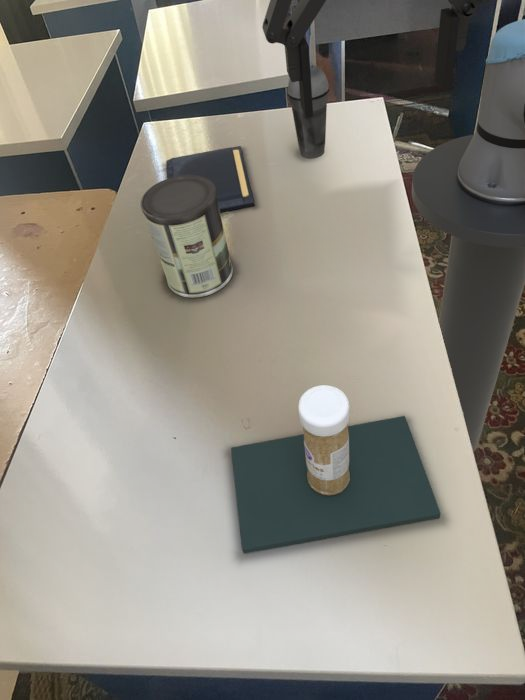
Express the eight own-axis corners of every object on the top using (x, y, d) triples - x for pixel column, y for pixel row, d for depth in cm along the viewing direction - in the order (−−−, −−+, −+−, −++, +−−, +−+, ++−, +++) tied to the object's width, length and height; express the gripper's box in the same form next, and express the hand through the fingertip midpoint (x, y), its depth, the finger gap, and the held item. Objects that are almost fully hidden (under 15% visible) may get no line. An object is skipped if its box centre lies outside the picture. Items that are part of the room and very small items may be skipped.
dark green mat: (404, 420, 65) (404, 415, 64) (439, 518, 57) (441, 513, 56) (232, 451, 65) (230, 447, 64) (243, 553, 57) (242, 549, 56)
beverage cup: (286, 149, 107) (274, 37, 92) (321, 138, 109) (314, 25, 94) (303, 167, 103) (293, 51, 88) (339, 154, 104) (335, 38, 89)
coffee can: (204, 244, 91) (184, 166, 81) (246, 271, 86) (231, 190, 75) (153, 278, 87) (125, 200, 77) (194, 308, 82) (170, 228, 71)
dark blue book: (164, 153, 108) (243, 139, 108) (167, 162, 110) (244, 148, 110) (164, 213, 95) (253, 198, 95) (167, 222, 97) (255, 207, 96)
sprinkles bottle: (298, 476, 61) (287, 402, 51) (330, 451, 62) (324, 374, 52) (328, 506, 58) (321, 434, 48) (360, 478, 60) (360, 404, 50)
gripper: (211, -156, 38) (255, 140, 54) (580, -227, 38) (515, 91, 54) (205, -170, 43) (246, 104, 59) (530, -232, 43) (484, 60, 59)
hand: (374, 98), depth 56 cm, fingers open, 13 cm apart
